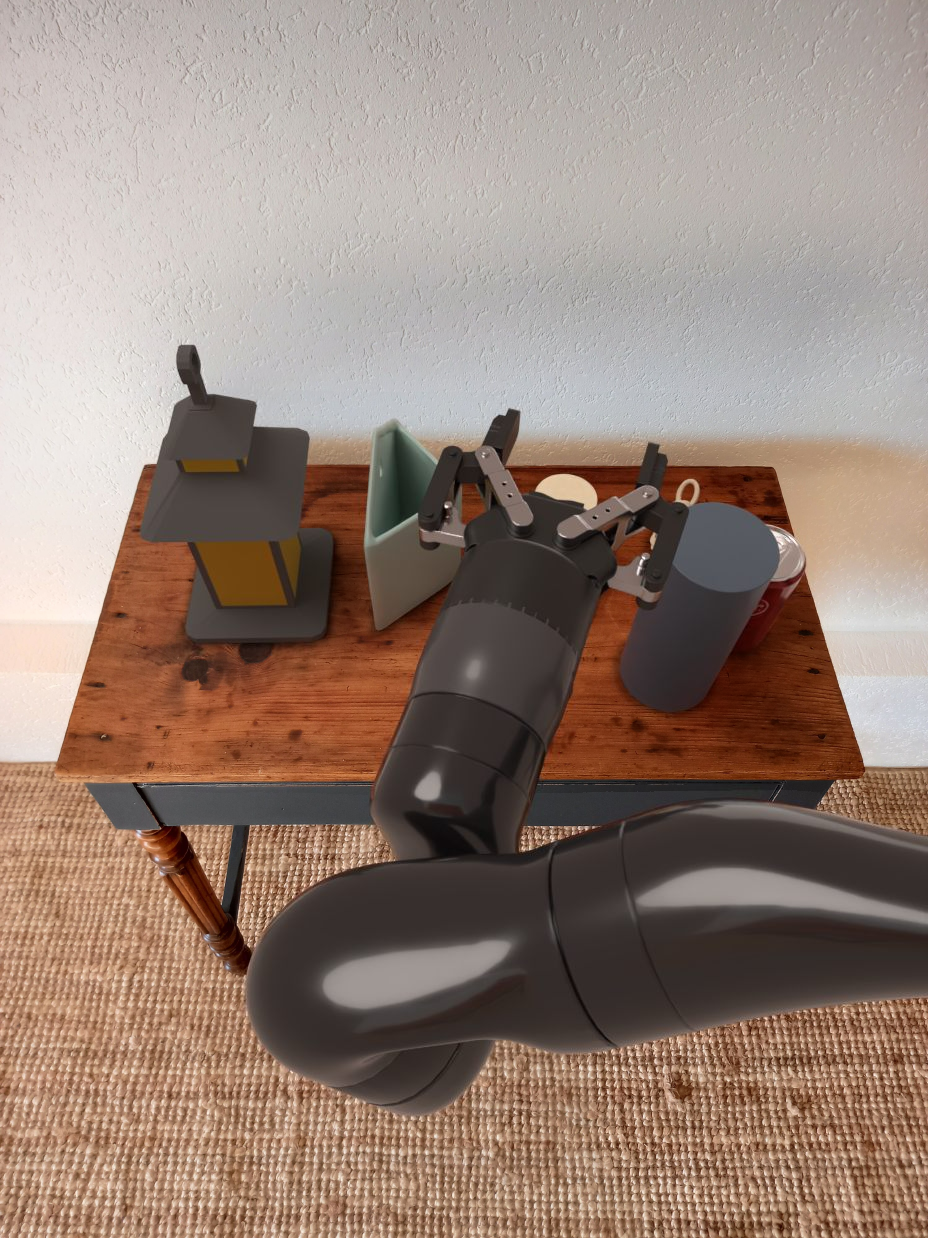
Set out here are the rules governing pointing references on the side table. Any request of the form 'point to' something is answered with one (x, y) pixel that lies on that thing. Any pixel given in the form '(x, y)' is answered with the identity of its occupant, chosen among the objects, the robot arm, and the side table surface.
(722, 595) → the stand
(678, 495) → the decorative ornament
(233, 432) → the lantern
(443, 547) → the planter
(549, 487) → the canister
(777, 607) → the soda can
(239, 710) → the side table surface
